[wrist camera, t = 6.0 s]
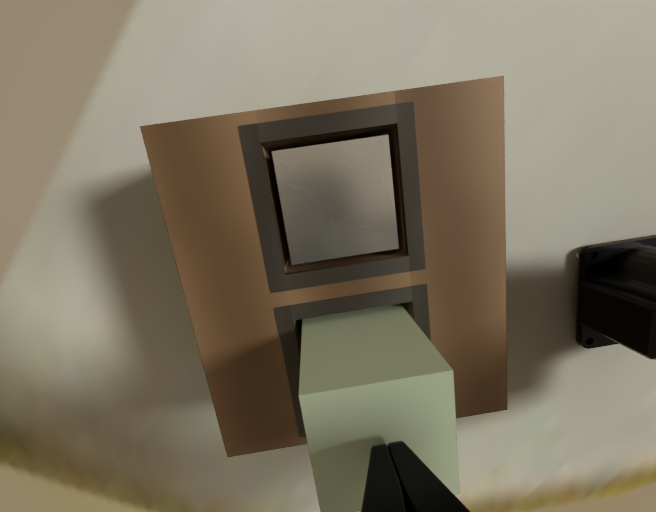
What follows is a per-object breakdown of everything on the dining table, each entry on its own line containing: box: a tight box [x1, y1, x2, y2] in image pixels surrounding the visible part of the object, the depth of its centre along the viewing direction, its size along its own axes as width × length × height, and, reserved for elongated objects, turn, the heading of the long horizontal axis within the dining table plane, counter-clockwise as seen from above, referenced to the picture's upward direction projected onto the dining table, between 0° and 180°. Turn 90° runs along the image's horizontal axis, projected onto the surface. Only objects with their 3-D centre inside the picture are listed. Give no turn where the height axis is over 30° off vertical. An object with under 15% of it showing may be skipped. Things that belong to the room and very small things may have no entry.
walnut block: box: [140, 76, 507, 457], centre depth 14 cm, size 12×13×6 cm
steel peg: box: [272, 135, 399, 265], centre depth 14 cm, size 4×4×6 cm
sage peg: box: [299, 304, 460, 512], centre depth 11 cm, size 4×4×6 cm
